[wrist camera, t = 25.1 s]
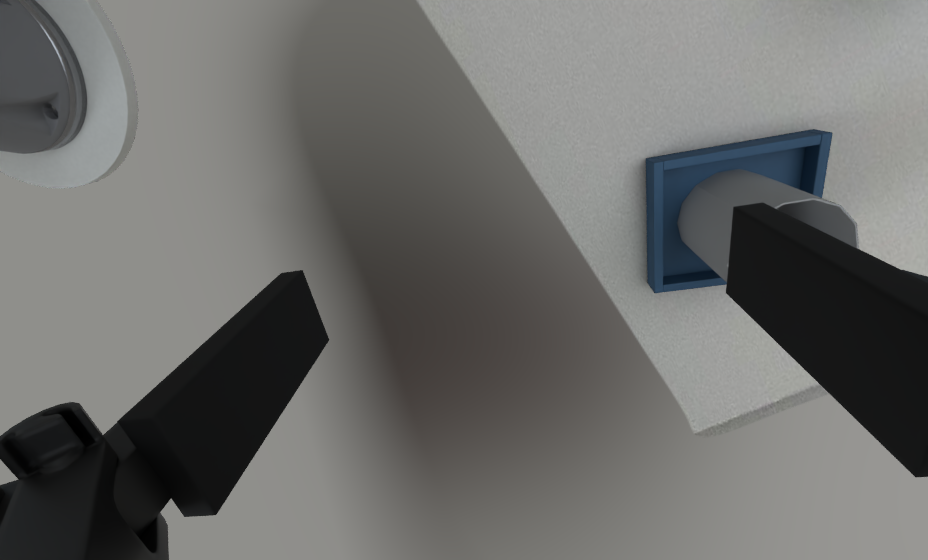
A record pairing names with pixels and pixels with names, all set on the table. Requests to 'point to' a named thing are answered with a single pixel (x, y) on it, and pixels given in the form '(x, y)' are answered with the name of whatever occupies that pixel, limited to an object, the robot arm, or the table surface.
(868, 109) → the table surface
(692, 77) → the table surface
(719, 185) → the cup
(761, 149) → the tray
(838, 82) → the table surface
